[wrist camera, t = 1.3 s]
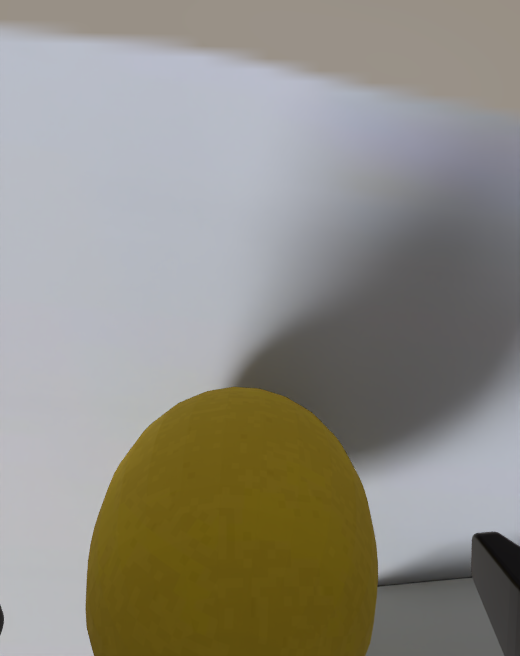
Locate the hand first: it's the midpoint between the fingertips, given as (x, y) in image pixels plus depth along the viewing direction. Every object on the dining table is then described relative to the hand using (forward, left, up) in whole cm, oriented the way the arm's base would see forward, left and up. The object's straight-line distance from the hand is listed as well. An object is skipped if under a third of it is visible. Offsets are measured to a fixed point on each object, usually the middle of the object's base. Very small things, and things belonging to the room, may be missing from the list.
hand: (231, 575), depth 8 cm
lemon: (0, 0, -5) cm, 5 cm away
